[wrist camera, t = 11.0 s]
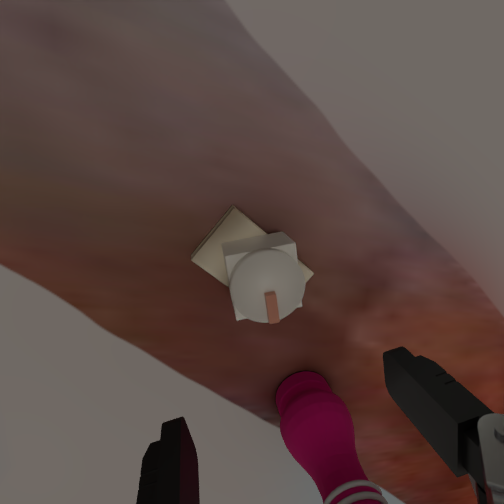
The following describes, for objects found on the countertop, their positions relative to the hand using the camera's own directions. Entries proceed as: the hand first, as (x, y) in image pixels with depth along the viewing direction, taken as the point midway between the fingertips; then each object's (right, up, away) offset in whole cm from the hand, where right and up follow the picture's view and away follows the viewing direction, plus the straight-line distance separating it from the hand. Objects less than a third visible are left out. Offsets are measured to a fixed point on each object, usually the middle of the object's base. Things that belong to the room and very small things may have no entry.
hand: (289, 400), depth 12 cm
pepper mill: (+4, -10, +25) cm, 27 cm away
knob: (-1, +4, +17) cm, 18 cm away
